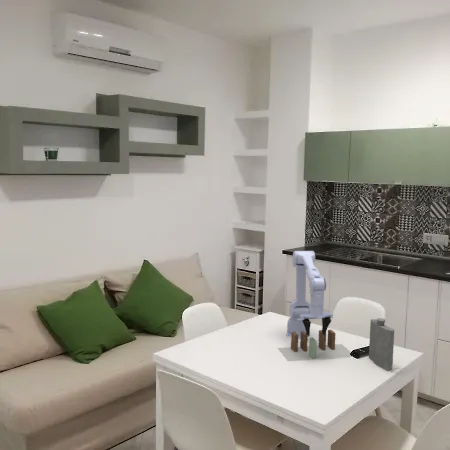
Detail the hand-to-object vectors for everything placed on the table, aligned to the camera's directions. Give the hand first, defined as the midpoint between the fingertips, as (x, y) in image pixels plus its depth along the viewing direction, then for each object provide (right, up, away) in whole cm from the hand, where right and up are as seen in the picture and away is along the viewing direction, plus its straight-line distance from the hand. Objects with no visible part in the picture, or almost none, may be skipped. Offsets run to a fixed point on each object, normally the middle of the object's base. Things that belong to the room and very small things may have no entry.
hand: (315, 334), depth 227 cm
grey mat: (+1, -10, +6) cm, 12 cm away
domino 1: (-8, -9, +8) cm, 15 cm away
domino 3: (+5, -9, +11) cm, 15 cm away
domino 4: (+9, -9, +12) cm, 17 cm away
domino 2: (-4, -9, +9) cm, 14 cm away
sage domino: (-1, -10, +1) cm, 10 cm away
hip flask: (+26, -12, -6) cm, 29 cm away
